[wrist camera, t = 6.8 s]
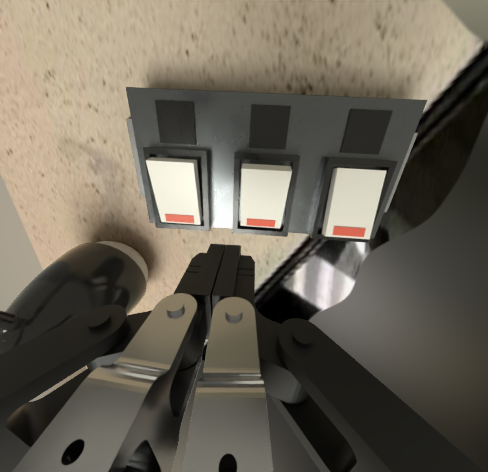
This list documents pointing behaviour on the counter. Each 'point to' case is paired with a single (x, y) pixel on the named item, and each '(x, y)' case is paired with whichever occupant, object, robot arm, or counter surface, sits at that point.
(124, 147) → the counter surface
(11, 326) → the pump dispenser
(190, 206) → the rocker
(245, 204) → the middle rocker
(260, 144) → the rocker switch box
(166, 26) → the counter surface
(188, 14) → the counter surface
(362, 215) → the rocker
